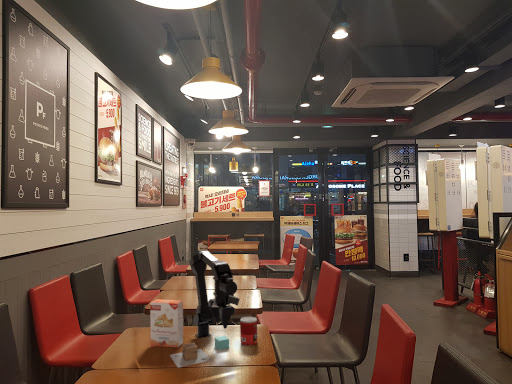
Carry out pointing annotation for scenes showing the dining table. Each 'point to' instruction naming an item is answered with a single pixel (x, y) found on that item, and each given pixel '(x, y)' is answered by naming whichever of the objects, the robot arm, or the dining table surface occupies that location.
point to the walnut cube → (189, 351)
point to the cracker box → (166, 323)
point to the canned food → (248, 330)
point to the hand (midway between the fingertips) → (221, 325)
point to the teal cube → (221, 342)
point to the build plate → (181, 361)
